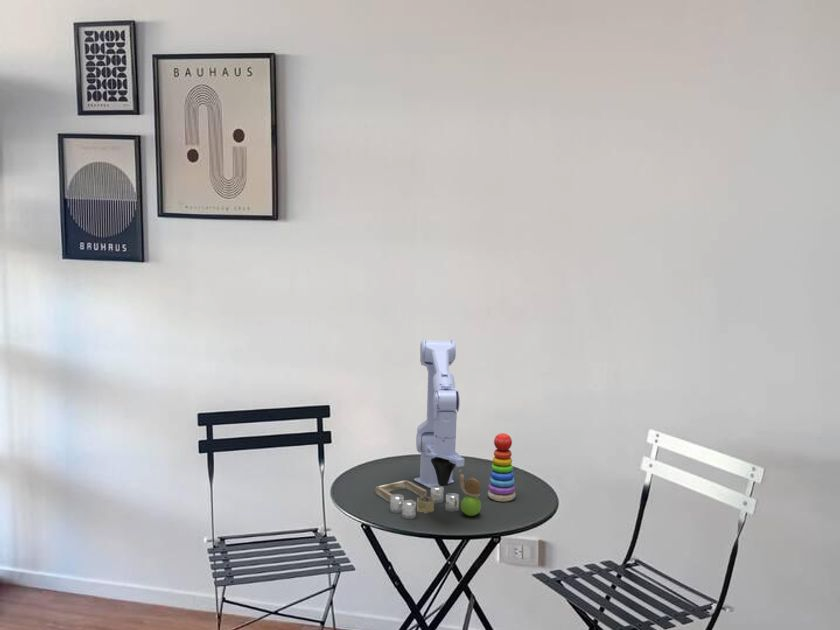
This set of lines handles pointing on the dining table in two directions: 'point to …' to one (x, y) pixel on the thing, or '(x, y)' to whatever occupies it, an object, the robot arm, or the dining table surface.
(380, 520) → the dining table surface
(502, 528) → the dining table surface
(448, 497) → the cylinder
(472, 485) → the snail figurine
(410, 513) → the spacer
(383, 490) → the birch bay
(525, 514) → the dining table surface
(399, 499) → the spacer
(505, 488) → the stacking toy
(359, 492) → the dining table surface
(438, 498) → the cylinder
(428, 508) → the brass nut
